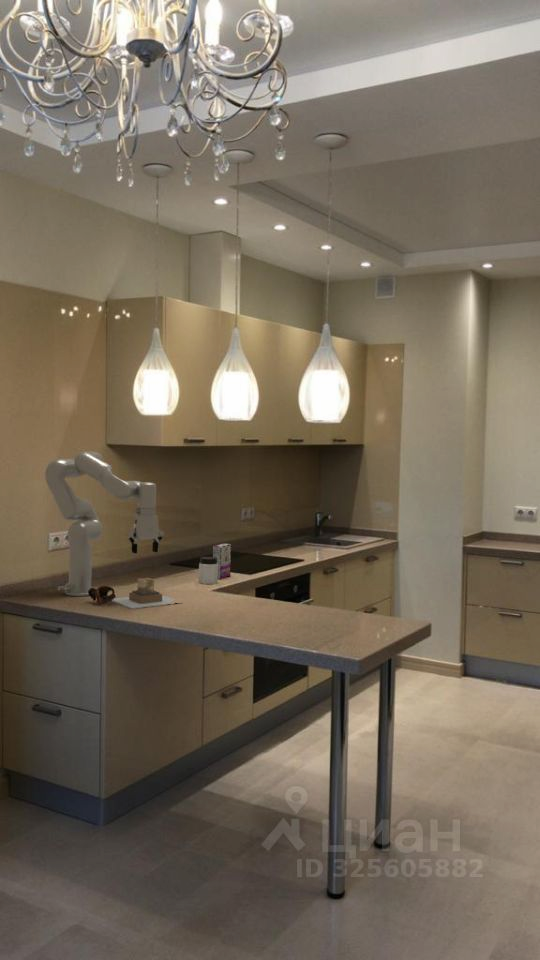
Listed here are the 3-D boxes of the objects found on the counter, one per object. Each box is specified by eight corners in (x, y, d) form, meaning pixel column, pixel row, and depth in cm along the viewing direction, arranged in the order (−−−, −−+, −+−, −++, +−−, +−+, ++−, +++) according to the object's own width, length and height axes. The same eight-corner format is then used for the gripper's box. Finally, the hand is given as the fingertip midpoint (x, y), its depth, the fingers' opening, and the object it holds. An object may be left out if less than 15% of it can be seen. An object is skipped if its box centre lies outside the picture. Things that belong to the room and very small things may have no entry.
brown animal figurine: (117, 602, 353) (119, 587, 348) (108, 616, 345) (111, 601, 340) (90, 593, 354) (92, 578, 349) (81, 607, 346) (83, 592, 341)
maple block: (143, 595, 349) (143, 580, 349) (137, 593, 353) (137, 578, 352) (153, 593, 352) (154, 579, 352) (147, 591, 356) (148, 577, 356)
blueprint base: (131, 609, 337) (132, 598, 337) (108, 600, 353) (108, 590, 353) (182, 603, 352) (183, 593, 352) (158, 595, 368) (158, 585, 368)
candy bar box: (221, 575, 425) (222, 543, 424) (230, 576, 423) (231, 544, 422) (211, 578, 415) (212, 545, 414) (220, 579, 413) (221, 546, 412)
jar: (211, 584, 398) (212, 559, 397) (196, 583, 401) (196, 558, 400) (219, 582, 406) (220, 557, 405) (204, 580, 409) (205, 555, 408)
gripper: (132, 513, 344) (130, 554, 345) (168, 512, 354) (167, 552, 355) (123, 511, 350) (122, 552, 351) (159, 510, 360) (158, 550, 361)
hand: (144, 552), depth 353 cm, fingers open, 9 cm apart
